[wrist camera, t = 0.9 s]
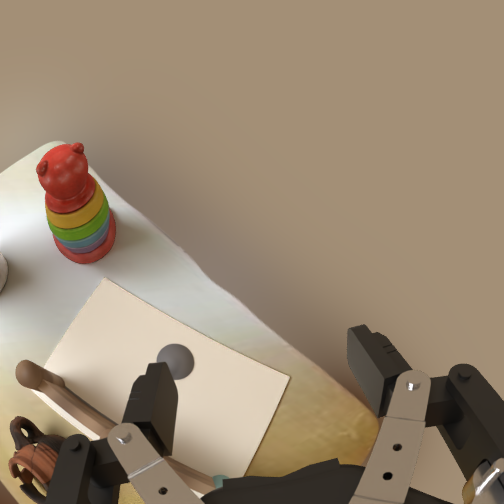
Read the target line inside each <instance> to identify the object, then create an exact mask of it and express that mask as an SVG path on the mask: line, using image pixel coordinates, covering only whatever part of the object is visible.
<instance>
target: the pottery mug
mask: <svg viewBox="0 0 504 504" xmlns="http://www.w3.org/2000/svg"><path fill="white" fill-rule="evenodd" d="M21 428H23V429H25V430H26V431H27V433H28V437H26V436H25V435H24V434H23V433H22V431H21ZM10 432H11V435H12V437H13V439H14V442H15V448H16V450H18V451H17V452H16V451H15V452H14V457H13V458H11V459H10V460H9V464H8V465H9V470H10V472H11V475H12V477H13V478H17V477H19V479H20V480H21V481H22V482H23V485H20V488H21V490H22V491H23V492H24V493H25V494H26V495H27V496H28V497H29V498H30V499H32V500H33V501H34V502H36V503H37V504H44V503H45V499H46V497H45V496H44V495H42V494H41V493H40V492H39V491H38V490H37V489H36V487H35V486H34V485H33V483H32V480H33V475H34V476H35V477H36V478H37V479H38V480H39V481H40V482H41V483H42V484H43V486H44V488H45V489H46V491H47V492H48V488H49V485H50V481H51V478H52V474H53V471H54V467H55V464H56V461H57V458H58V455H59V451H60V448H61V445H62V443H63V442H64V440H65V438H63V437H61V436H58V435H44V433H42V432H41V431H40V430H39V429H38V428H37V427H36V426H35V424H33V423H32V422H31V421H30V420H28V419H26V418H24V417H21V416H20V417H19V416H17V417H15V419H14V420H12V421H11V423H10ZM36 443H38V444H37V446H34V445H33V444H36ZM17 464H19V465H21V466H23V467H25V468H23V470H22V471H21V472H20V471H19V468H18V466H17ZM31 472H32V473H31Z"/></svg>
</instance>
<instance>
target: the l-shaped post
mask: <svg viewBox="0 0 504 504" xmlns="http://www.w3.org/2000/svg"><path fill="white" fill-rule="evenodd" d="M163 459H164V460H165V461H166V462H167V463H168V465H169V466H170V467H171V468H172V469H173V470H174V471H175V473H176V474H177V475H178V476H179V477H180V478H181V479H182V480H183V482H184V483H185V484H186V485H187V486H188V487H189V488H190V489H192V490H194V491H196V492H199V493H201V494H203V495H205V494H207V493H209V492H210V491H212V490H215V489H217V488H219V487H223V482H222V479H229V477H227V476H225V475H216V476H213V477H210V476H208V475H206V474H203V473H201V472H199V471H197V470H195V469H192V468H190V467H188V466H186V465H184V464H182V463H180V462H178V461H176V460H174V459H172V458H170V457H168V456H163Z"/></svg>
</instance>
